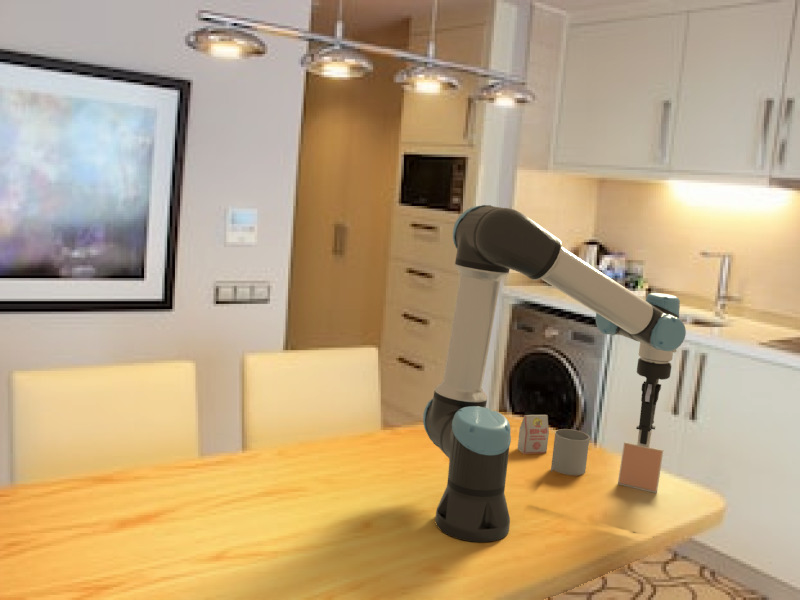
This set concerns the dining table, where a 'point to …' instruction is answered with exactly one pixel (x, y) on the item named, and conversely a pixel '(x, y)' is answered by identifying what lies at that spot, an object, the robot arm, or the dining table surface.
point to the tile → (640, 467)
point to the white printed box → (533, 434)
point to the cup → (570, 452)
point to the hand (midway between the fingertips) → (642, 455)
